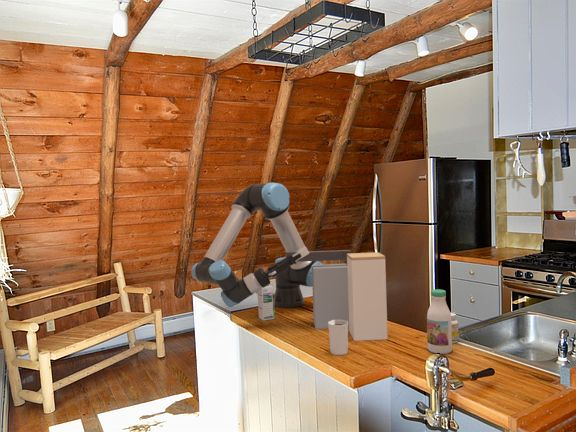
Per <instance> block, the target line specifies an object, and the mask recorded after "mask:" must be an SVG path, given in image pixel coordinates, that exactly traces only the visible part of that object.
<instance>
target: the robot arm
mask: <svg viewBox="0 0 576 432" xmlns="http://www.w3.org/2000/svg"><path fill="white" fill-rule="evenodd" d="M289 209H290V193H289V191H288V189H287V187H286V186H285V185H283V184H282V183H278V182H267V183H253V184H250V185H249V186H247V187H245V188H244V189H243V190H242V191H241V192H240V193H239V194H238V196H237V197H236V198H235V199H234V201H233V203H232V205H231V210H230V212H229V214H228V215H227V218H226V220H225V221H224V222H223V224H222V226H221V228H220V229H219V231H218V233H216V236H215V238H214V239H213V241H212V243H211V244H210V246H209V248H208V250H207V251H206V253H205V255H204V257H202V259H201V261H200V262H196V263H195V264H193V266H192V267H191V271H190V274H191V277H192V278H193V279H194V280H195V281H198V282H201V283H209V284H212V285H217V286H218V287H219V288H220V289H221V290H222V291H221V292H220V297H221V299H222V301H223V303H224V304H225V305H226V306H227V307H228V308H233V307H235V306H236V305H239V304H240V303H242V302H243V301H244V300H246V299H247V298H249V297H251V296H253V295H254V294H257V295H258V291H259V290H261V287H262V288H264V287H266V286H267V285H269V284H271V280H270V278H271V277H272V278H275V290H274V298H275V308H287V309H288V308H290V309H291V308H296V307H301V306H303V305H304V304H305V299H304V298H305V297H304V296H303V293H302V290H301V287H300V286H304V287H310V288H312V265H324V263H323V262H322V261H300V262H295V261H298V260H299V259H301V258H303V257H304V256H306V255H308V254H309V250H308V247H307V246H305V243H304V242H303V241H304V240H302V239H303V238H302V237H301V235H300V234H299V232H298V229H297V227H296V225H295V223H294V221H293V219H292V216H291V215H290V213H289ZM256 211H257V212H258V211H260V212H261V213H262V215H263V217H264V218H265V220H269V221H270V223H271V224H272V227H273V229H274V230H275V233H276V234H277V235H278V238H279V240H280V242H281V245H282V246H283V248H284V250H285V253H286V252H297V253H296V254H294V255H293V256H292V257H290V258H289V259H287V260H286V256H284V257H278V258H276V259H275V261H274V264H273V265H270V266H268V267H267V270H264V269H263V268H262V267H259V268H257V269H256V270H255V271H253V272H250V273H249V274H247V275H245V276H244V277H243V278H242V279H239V278H238V277H237V276H236V274H235V272H234V271H233V270H232V269H231V266H230V265H228V263H226V261H225V260H224V259H225V257H226V256H227V254H228V253H229V251H230V248H231V247H232V245H233V244H234V242H235V240H236V238H237V237H238V235H239V233H240V231H241V229H242V228H243V227H244V225H245V223H246V221H247V219H251V217H252V215H254V213H255V212H256Z"/></svg>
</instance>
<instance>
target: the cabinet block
mask: <svg viewBox="0 0 576 432" xmlns="http://www.w3.org/2000/svg"><path fill="white" fill-rule="evenodd" d="M346 264H347V274H348V305H349V328H348V333H349V334H350V336H351V338H352V339H353V341H356V342H357V341H379V340H381V341H382V340H388V339H389V338H388V310H387V303H388V301H387V272H386V271H387V270H386V268H387V267H386V255H384V254H382V253H381V252H379V251H378V252H375V251H374V252H360V253H358V252H355V253H352V252H351V254H347V260H346Z"/></svg>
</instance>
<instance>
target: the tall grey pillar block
mask: <svg viewBox="0 0 576 432" xmlns="http://www.w3.org/2000/svg"><path fill="white" fill-rule="evenodd" d="M311 288H312V310H313V315H312V316H313V324H314V328H315V330H326V329H328V330H329V326H328V322H329V321H331V320H345V321H347V322H348V329H349V305H348V274H347V263H329V264H326V263H325V264H324V263H323V265H312V287H311Z"/></svg>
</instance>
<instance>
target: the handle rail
mask: <svg viewBox="0 0 576 432" xmlns="http://www.w3.org/2000/svg"><path fill="white" fill-rule="evenodd" d="M308 251H309V250H308ZM296 253H297V252H286V251H285V257H286V260H287V259H289V258H290V257H292V256H293V255H294V254H296ZM351 253H352V251H351V249H342V250H341V249H340V250H338V249H337V250H334V249H333V250H310V251H309V254H308V255H306V256H304V257H303V258H301V259H299V260H298V261H295V262H300V261H317V262H325V261H347V254H351Z"/></svg>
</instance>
